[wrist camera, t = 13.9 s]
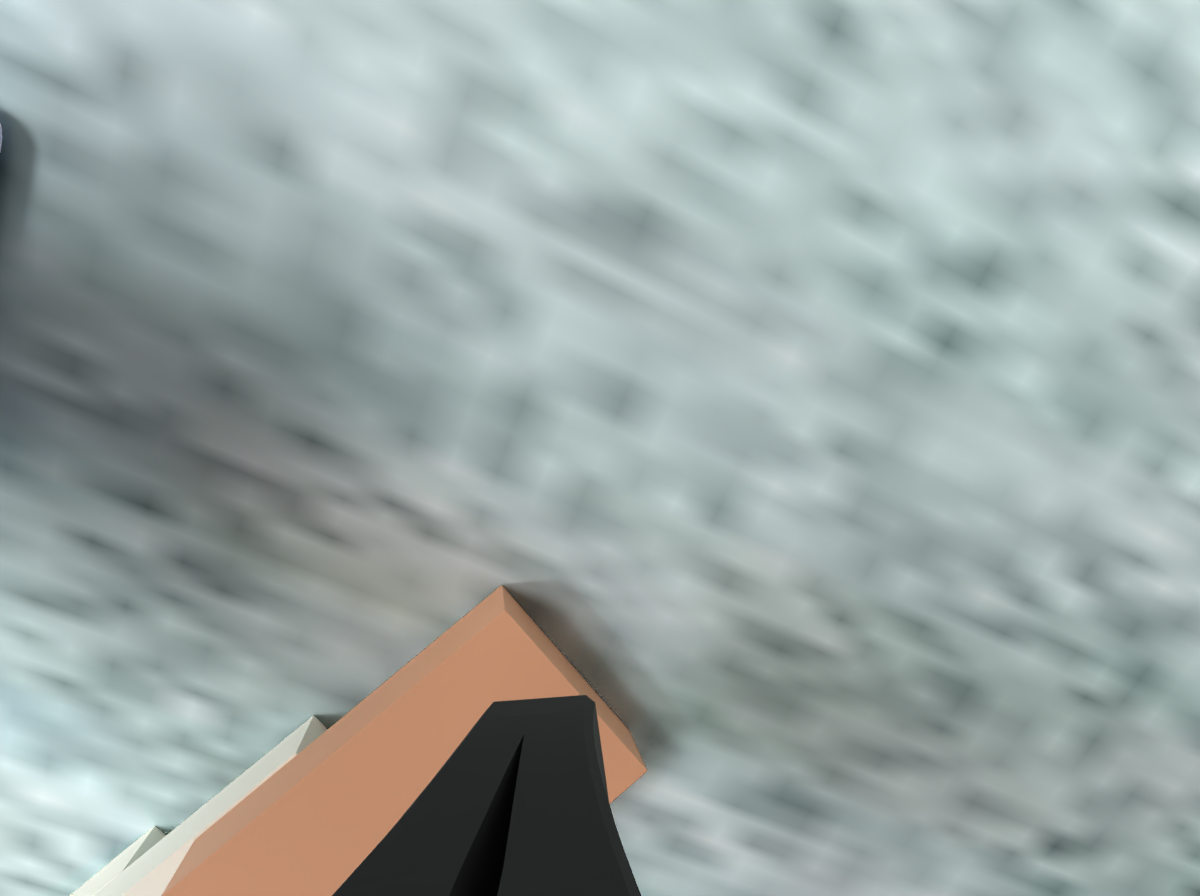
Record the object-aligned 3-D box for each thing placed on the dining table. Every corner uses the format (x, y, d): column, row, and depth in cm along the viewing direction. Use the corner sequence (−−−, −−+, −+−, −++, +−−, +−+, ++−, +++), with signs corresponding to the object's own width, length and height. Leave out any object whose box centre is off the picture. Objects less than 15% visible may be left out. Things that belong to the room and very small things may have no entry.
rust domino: (629, 731, 16) (345, 977, 15) (501, 584, 15) (194, 839, 14) (647, 770, 14) (330, 1047, 13) (505, 609, 13) (160, 897, 13)
